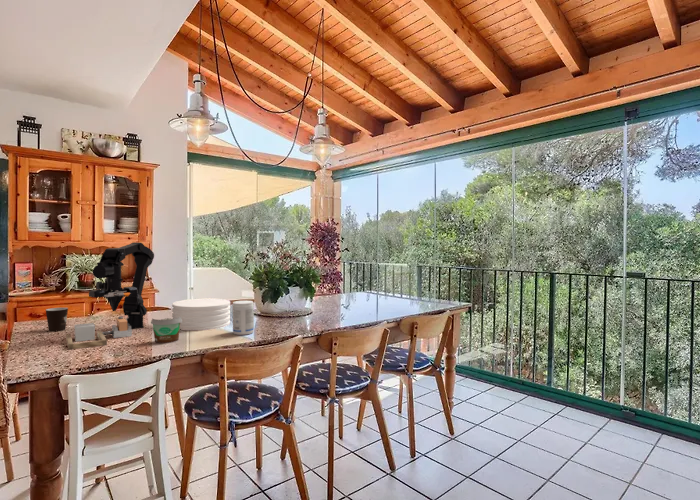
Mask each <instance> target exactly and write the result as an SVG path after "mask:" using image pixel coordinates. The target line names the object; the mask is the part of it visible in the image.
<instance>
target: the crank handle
mask: <svg viewBox="0 0 700 500" xmlns="http://www.w3.org/2000/svg"><path fill="white" fill-rule="evenodd" d="M116 326H117V327H118V330H119V331H126V330H127V319H125V318H124V316H121V315H120V316H118V317H117V318H116Z"/></svg>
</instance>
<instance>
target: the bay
mask: <svg viewBox="0 0 700 500" xmlns="http://www.w3.org/2000/svg"><path fill="white" fill-rule="evenodd" d="M102 332H103V331H102V330H99V331H97V332H96V333H97V334H96V335H97V339H98V340H90V341H82V342H75V343H74V342H73V339H72V335H71V334H65V335H66V337H65V340H66V344H67V347H68V348H67V349H68V350H76V349H85V348H93V347H100V346H107V344H108V340H107V338H106V335H103V333H102Z"/></svg>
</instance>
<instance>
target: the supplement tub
mask: <svg viewBox="0 0 700 500" xmlns="http://www.w3.org/2000/svg"><path fill="white" fill-rule="evenodd" d="M254 316H255V315H254V301H252V300H236V301H233V302H232V333H233V334H234V335H238V336H245V335H250V334H253V333H254V331H255V329H254V328H255V323H254V321H255V317H254Z"/></svg>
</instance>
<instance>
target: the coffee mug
mask: <svg viewBox="0 0 700 500" xmlns="http://www.w3.org/2000/svg"><path fill="white" fill-rule="evenodd" d="M68 311H69V307H51V308H46V309H45V313H46V321H47V328H48V329H47V330H48V332H50V333H51V332H52V333H54V332H62V331H65V330H66V327H67V321H68V318H67V317H68Z"/></svg>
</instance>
